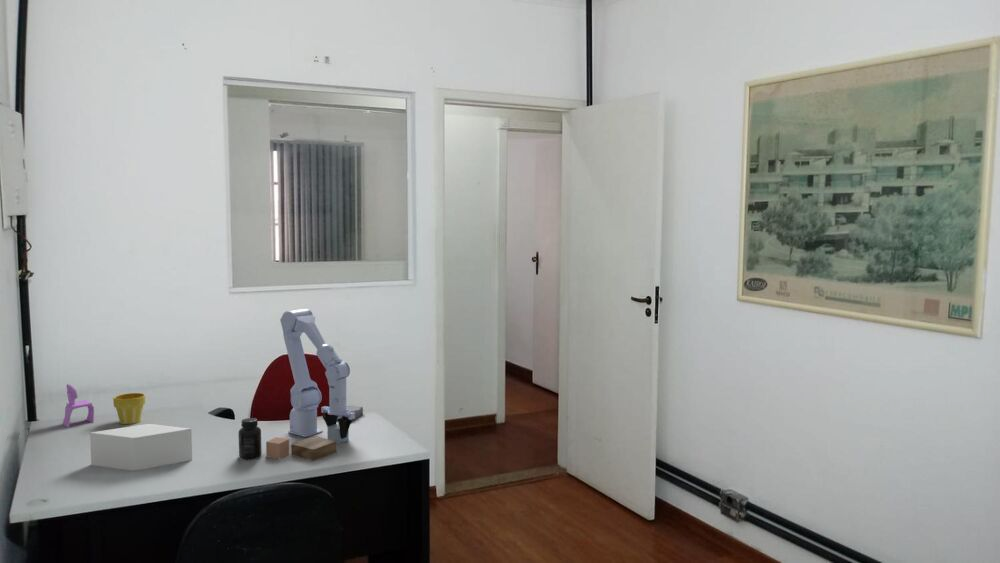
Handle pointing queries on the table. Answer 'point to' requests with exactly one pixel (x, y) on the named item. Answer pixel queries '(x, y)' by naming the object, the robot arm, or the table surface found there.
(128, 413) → the plant pot
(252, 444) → the supplement bottle
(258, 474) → the table surface
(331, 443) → the walnut slab
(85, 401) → the toy chair
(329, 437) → the blue-grey cube
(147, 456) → the white foam block
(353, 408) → the stone block
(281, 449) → the terracotta cube
